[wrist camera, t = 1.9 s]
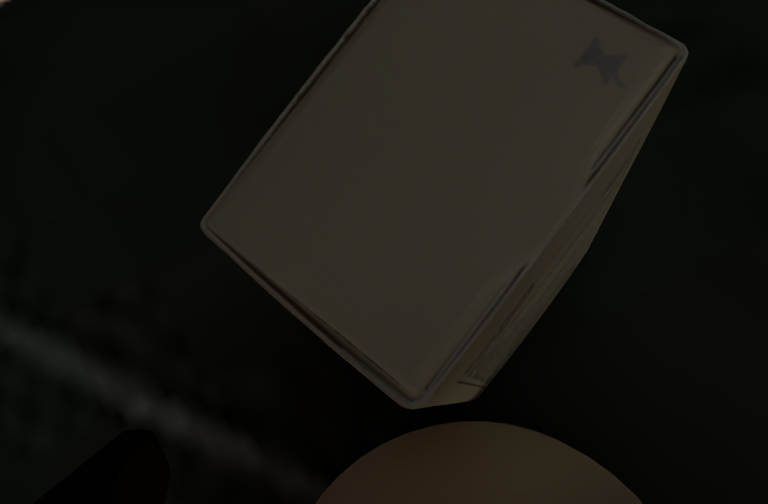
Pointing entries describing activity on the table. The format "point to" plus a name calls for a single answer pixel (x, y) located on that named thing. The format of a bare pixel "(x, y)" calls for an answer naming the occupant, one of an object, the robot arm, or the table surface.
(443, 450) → the tan round disc
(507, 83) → the skincare box
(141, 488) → the robot arm
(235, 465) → the table surface
